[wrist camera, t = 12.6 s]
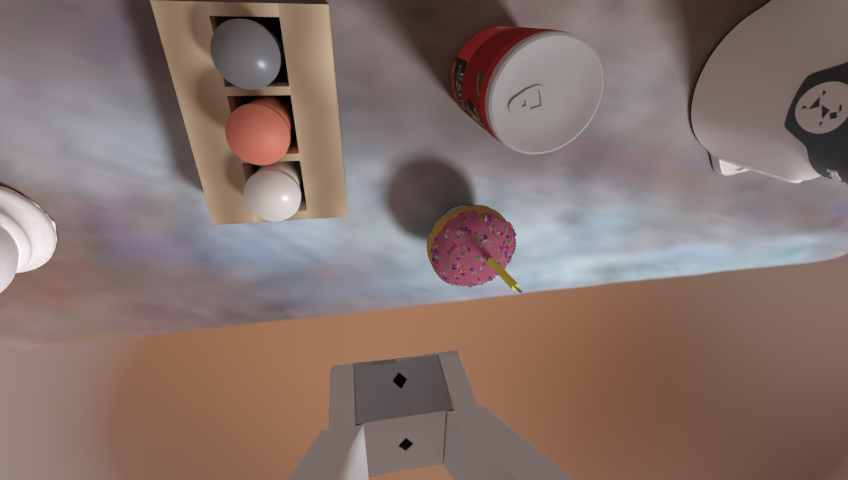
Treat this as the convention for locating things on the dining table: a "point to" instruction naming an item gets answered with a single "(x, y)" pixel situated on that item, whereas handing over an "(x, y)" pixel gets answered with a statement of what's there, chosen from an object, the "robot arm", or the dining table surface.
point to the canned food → (528, 86)
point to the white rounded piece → (274, 190)
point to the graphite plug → (247, 53)
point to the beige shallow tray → (217, 98)
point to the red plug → (260, 130)
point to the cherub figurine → (23, 235)
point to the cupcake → (472, 246)
